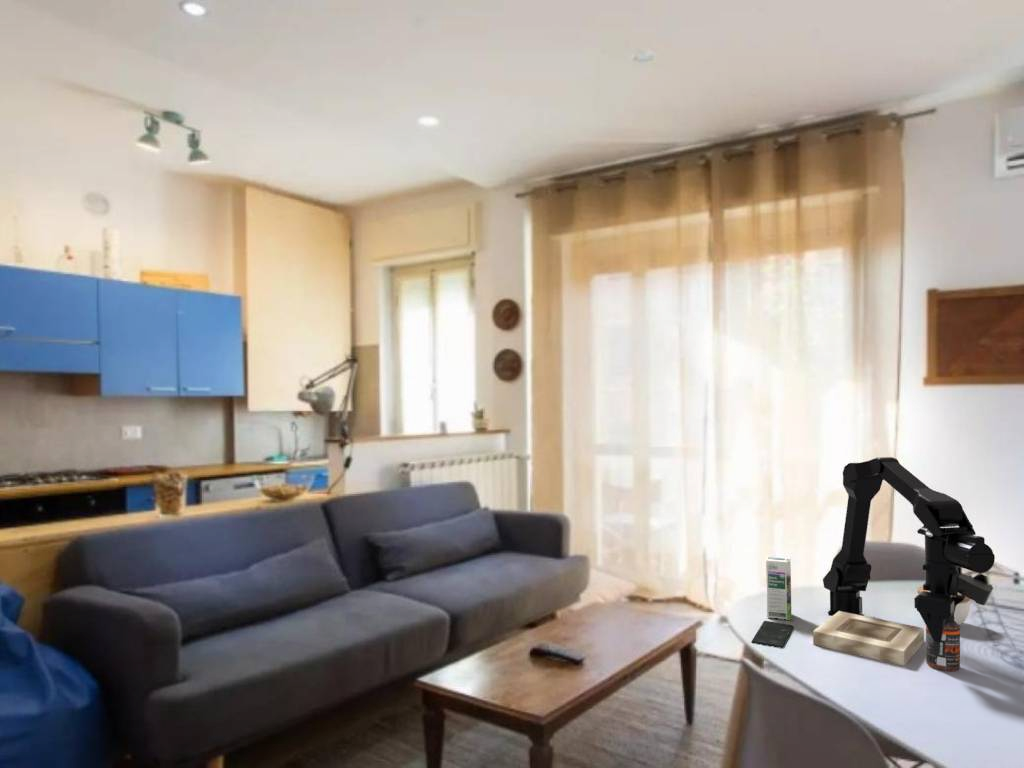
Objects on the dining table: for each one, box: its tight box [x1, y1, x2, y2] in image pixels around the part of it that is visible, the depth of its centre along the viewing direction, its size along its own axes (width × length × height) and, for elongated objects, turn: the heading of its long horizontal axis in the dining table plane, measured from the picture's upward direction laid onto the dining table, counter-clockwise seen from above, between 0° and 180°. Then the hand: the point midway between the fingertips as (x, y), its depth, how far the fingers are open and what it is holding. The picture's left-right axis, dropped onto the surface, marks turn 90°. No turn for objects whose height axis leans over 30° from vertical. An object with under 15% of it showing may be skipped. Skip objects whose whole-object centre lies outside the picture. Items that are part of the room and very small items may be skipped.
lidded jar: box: [917, 585, 971, 626], centre depth 164 cm, size 11×11×9 cm
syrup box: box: [765, 555, 792, 621], centre depth 171 cm, size 6×6×14 cm
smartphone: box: [751, 620, 794, 649], centre depth 158 cm, size 7×1×15 cm
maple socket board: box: [812, 611, 925, 667], centre depth 152 cm, size 18×18×3 cm
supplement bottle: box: [925, 613, 961, 672], centre depth 139 cm, size 6×6×11 cm
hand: (942, 636), depth 139 cm, fingers open, 9 cm apart
